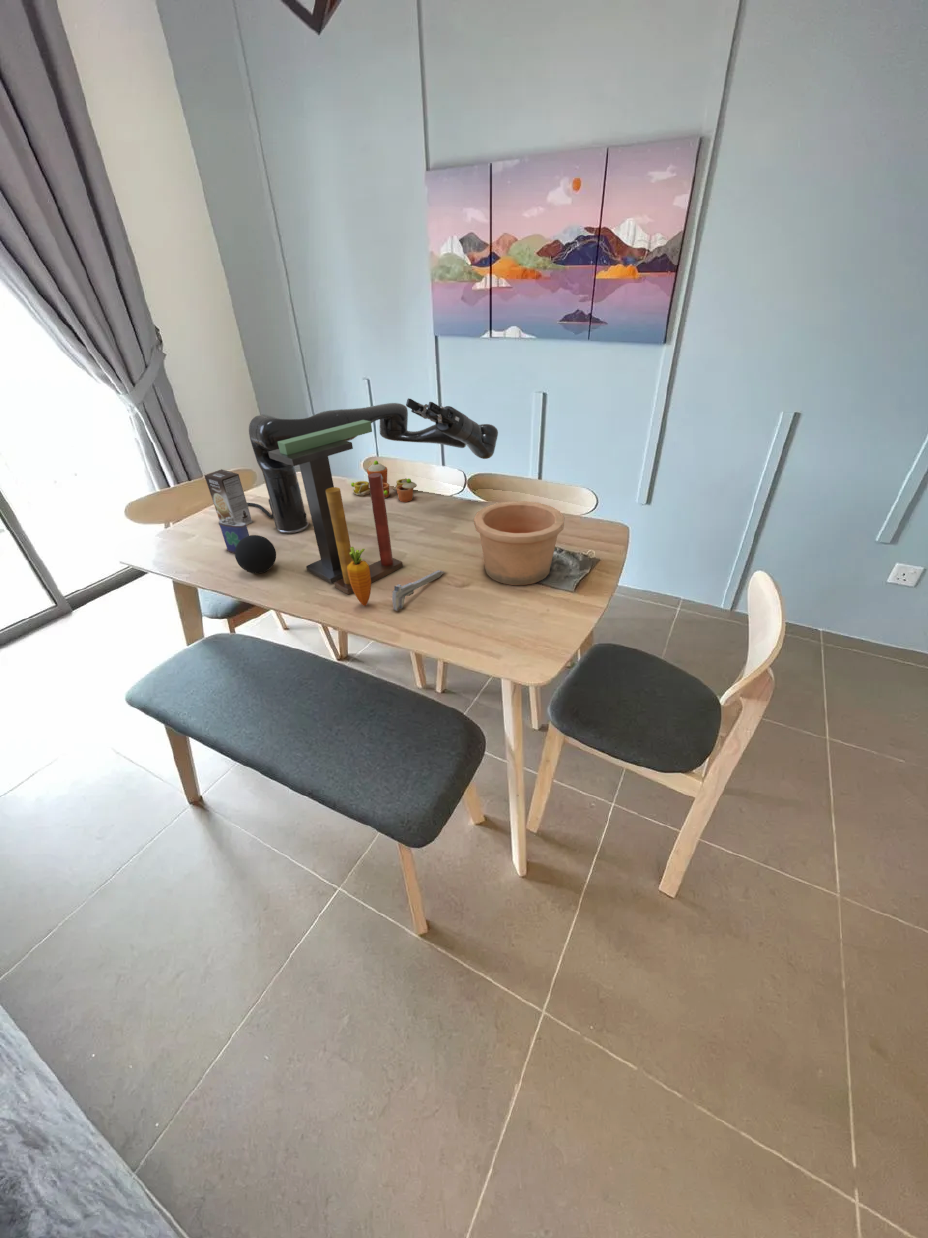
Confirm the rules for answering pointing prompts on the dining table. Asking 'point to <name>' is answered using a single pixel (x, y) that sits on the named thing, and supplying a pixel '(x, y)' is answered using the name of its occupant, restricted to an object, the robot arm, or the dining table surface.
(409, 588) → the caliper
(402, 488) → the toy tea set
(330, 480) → the stand
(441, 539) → the dining table surface
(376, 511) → the rod rack
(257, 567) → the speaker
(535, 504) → the pottery
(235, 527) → the blue clover container
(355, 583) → the carrot
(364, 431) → the bar
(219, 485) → the coffee box
